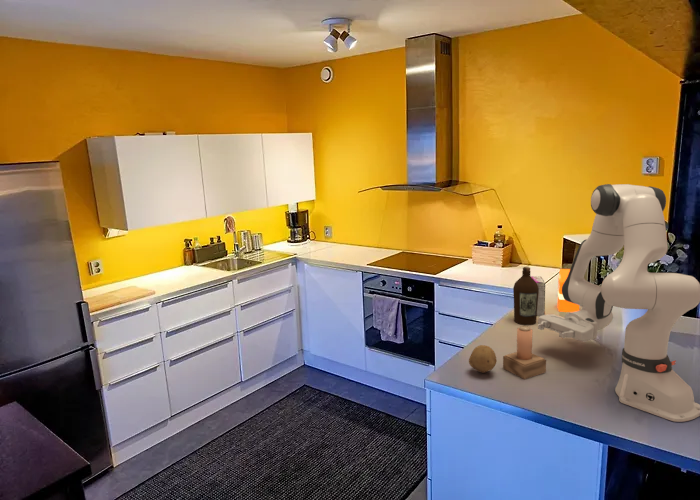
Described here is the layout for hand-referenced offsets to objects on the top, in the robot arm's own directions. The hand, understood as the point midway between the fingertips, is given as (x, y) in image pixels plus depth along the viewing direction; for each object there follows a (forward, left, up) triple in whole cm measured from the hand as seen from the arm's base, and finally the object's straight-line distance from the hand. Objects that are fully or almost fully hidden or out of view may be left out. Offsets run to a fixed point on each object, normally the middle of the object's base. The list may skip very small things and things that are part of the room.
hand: (549, 331), depth 169 cm
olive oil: (+35, -25, -12) cm, 45 cm away
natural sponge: (+6, +25, -12) cm, 29 cm away
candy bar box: (+41, -39, -12) cm, 58 cm away
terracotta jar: (0, +12, -7) cm, 14 cm away
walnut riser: (0, +12, -12) cm, 17 cm away
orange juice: (+36, -54, -12) cm, 66 cm away
